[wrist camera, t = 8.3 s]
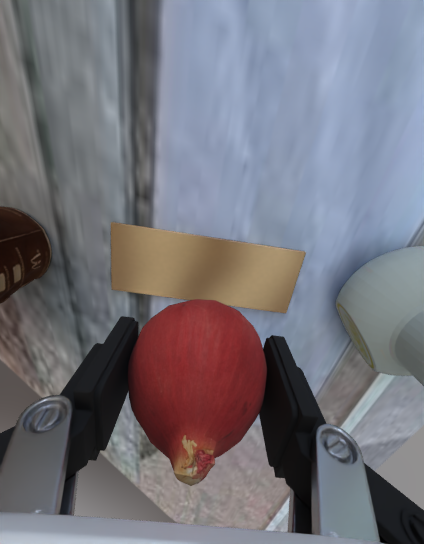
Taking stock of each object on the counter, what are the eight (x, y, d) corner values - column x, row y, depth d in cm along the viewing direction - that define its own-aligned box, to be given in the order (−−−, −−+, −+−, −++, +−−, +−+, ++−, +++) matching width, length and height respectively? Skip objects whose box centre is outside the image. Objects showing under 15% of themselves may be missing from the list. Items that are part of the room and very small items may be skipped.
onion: (245, 359, 15) (276, 543, 7) (154, 354, 15) (94, 537, 7) (258, 276, 13) (323, 420, 5) (151, 269, 12) (60, 407, 5)
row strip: (112, 288, 21) (111, 289, 21) (112, 221, 19) (110, 222, 18) (285, 311, 22) (286, 313, 22) (304, 251, 20) (306, 252, 19)
